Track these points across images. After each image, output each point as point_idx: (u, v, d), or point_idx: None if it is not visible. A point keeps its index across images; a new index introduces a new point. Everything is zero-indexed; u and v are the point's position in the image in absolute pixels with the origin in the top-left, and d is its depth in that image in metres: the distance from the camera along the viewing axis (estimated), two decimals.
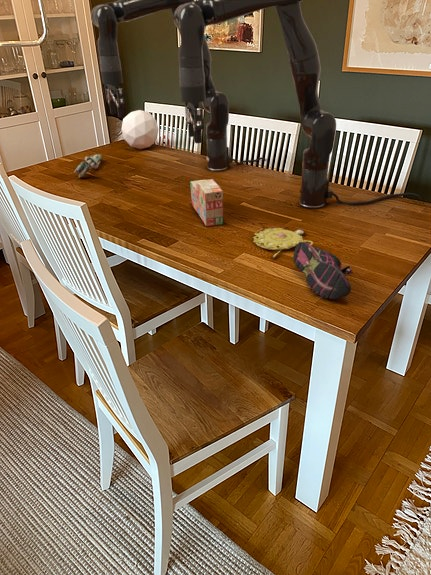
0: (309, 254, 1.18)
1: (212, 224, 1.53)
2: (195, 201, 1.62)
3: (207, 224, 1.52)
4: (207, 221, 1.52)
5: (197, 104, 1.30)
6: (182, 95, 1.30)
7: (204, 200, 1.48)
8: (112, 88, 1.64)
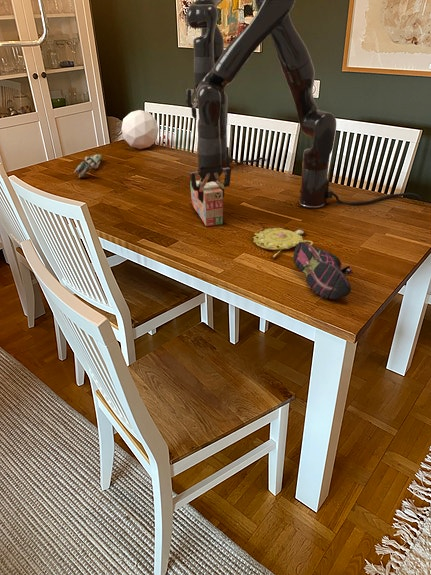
0: (309, 254, 1.18)
1: (212, 224, 1.53)
2: (195, 201, 1.62)
3: (207, 224, 1.52)
4: (207, 221, 1.52)
5: (199, 168, 1.44)
6: None
7: (204, 200, 1.48)
8: None
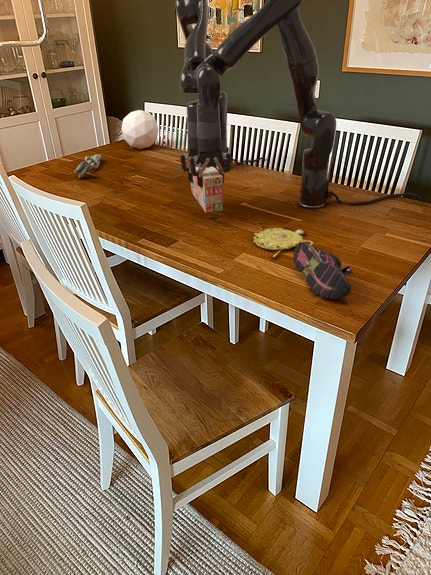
0: (309, 254, 1.18)
1: (212, 210, 1.50)
2: (194, 188, 1.59)
3: (206, 210, 1.49)
4: (206, 207, 1.49)
5: (198, 153, 1.42)
6: None
7: (203, 186, 1.46)
8: None
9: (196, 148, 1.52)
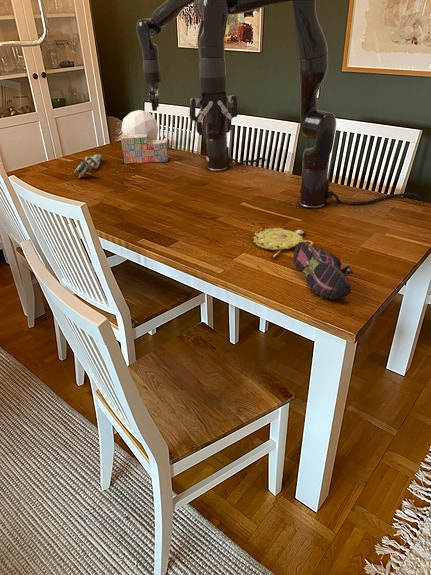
0: (309, 254, 1.18)
1: None
2: None
3: None
4: None
5: (201, 95, 1.27)
6: None
7: None
8: (156, 84, 2.03)
9: None
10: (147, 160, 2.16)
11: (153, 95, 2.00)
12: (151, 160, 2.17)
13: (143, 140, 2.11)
